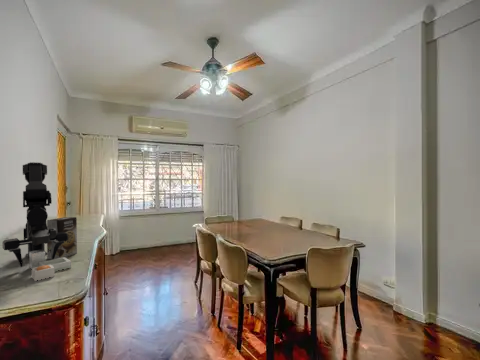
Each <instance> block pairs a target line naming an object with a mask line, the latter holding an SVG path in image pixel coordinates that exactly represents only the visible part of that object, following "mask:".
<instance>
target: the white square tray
mask: <svg viewBox="0 0 480 360" xmlns="http://www.w3.org/2000/svg"><path fill="white" fill-rule="evenodd" d="M50 264H51V265H52V266H53V267H54V270H55V272H59V271H58V270H60V271H63V270H62V269H64V270H67V269H66V268H69V269H71V268H72V260H70V259H68V257H62V258H57V259H52V260H51V259H48V260H45V261H42V262H39V266H44V265H50Z"/></svg>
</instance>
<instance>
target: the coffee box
mask: <svg viewBox="0 0 480 360" xmlns="http://www.w3.org/2000/svg"><path fill="white" fill-rule="evenodd" d="M77 220H78V219H77V216H68V217H58V218H57V217H56V218H52V219H47V220H46V224H47V229H48V230H49V229H54V228H55V229H56V233H58V232H65V233H67V234H68V240H67V241H64V243H62V244H61V245H60V246H59V248H58V250H57V252H56V255H55V258H54V259H57V258H62V257H65V258H68V257H71V256H73V255H76V254H77V253H78V239H77V238H78V236H77V235H78V233H77V232H78V231H77V230H78V228H77V227H78V226H77V223H78V222H77ZM52 241H54V240H52ZM52 241H50V242H49V243H47V244H46V245H47V246H46V251H47V252H46V253H47V254H46V258H47V259H48V260H51V248H52Z"/></svg>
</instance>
